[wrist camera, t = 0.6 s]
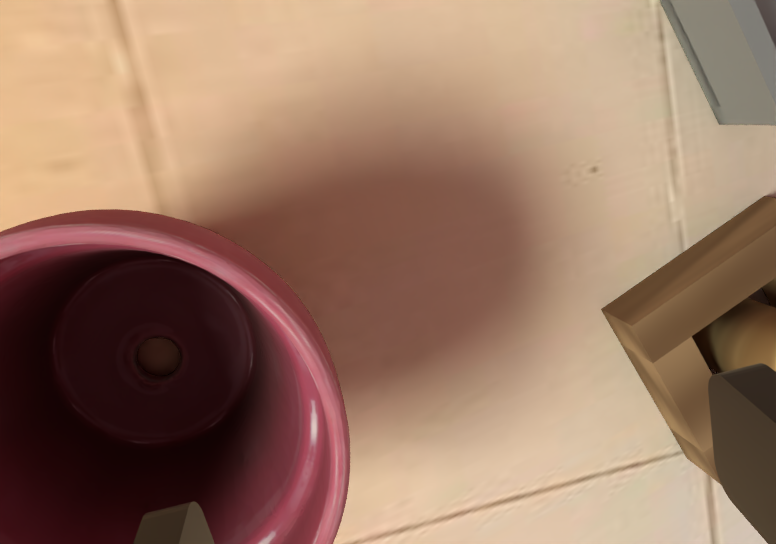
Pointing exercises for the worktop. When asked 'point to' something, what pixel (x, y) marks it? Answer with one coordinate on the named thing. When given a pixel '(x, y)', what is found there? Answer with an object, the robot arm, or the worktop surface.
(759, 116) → the tray
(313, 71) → the worktop surface
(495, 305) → the worktop surface
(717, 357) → the dowel
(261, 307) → the plant pot
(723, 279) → the socket block
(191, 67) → the worktop surface
